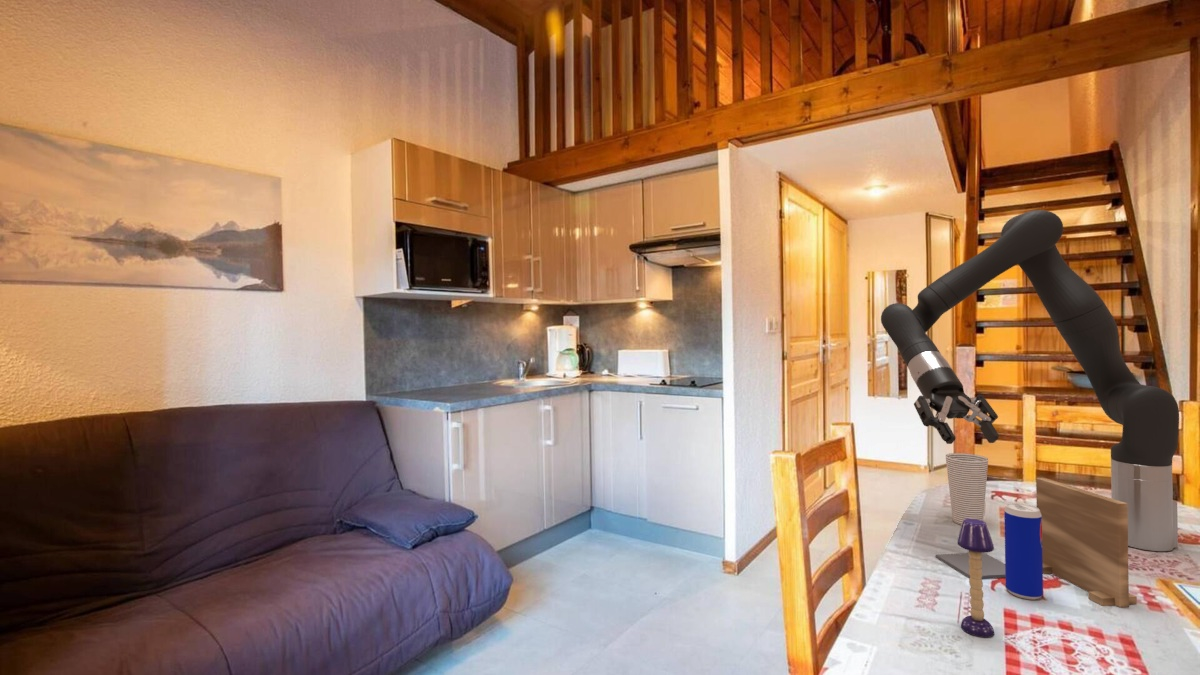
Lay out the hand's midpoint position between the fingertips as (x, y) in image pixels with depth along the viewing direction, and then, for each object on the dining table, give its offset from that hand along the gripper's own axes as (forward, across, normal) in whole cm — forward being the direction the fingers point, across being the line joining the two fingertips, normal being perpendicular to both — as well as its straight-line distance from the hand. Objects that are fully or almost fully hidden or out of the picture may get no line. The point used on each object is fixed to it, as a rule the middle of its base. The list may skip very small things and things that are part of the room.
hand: (973, 441), depth 108 cm
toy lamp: (+33, -16, +2) cm, 36 cm away
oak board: (+24, +12, +10) cm, 29 cm away
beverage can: (+26, 0, +9) cm, 27 cm away
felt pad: (+18, 0, +17) cm, 24 cm away
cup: (+1, +15, +33) cm, 36 cm away
